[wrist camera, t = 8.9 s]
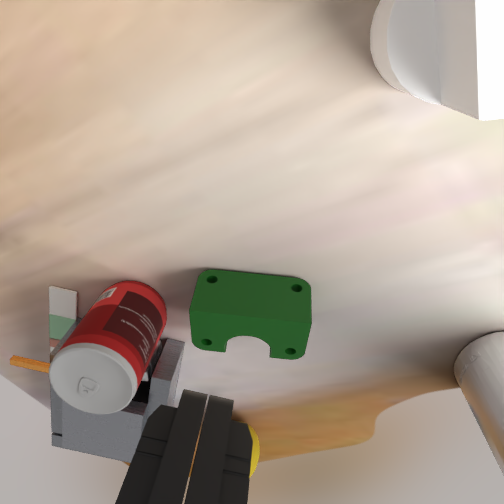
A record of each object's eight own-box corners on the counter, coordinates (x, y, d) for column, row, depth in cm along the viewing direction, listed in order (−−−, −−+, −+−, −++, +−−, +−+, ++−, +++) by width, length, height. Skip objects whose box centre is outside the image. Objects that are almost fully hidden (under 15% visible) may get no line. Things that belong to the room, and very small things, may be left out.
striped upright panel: (77, 291, 44) (75, 293, 43) (76, 364, 49) (74, 367, 48) (50, 285, 44) (48, 287, 43) (51, 359, 49) (50, 361, 48)
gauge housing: (184, 342, 46) (167, 392, 39) (169, 425, 52) (151, 480, 46) (77, 317, 45) (41, 364, 39) (76, 404, 52) (45, 457, 45)
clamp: (224, 286, 47) (178, 341, 41) (225, 247, 43) (173, 302, 37) (320, 328, 43) (284, 396, 37) (329, 290, 39) (291, 360, 33)
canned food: (97, 327, 46) (45, 403, 36) (104, 269, 42) (48, 337, 32) (162, 344, 46) (129, 424, 36) (174, 288, 42) (140, 361, 33)
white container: (497, 76, 31) (605, 93, 20) (378, 108, 33) (420, 139, 22) (495, -64, 27) (628, -133, 16) (360, -19, 29) (402, -55, 18)
